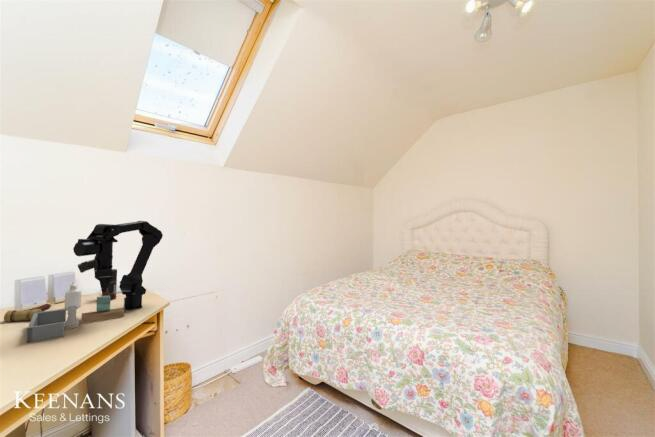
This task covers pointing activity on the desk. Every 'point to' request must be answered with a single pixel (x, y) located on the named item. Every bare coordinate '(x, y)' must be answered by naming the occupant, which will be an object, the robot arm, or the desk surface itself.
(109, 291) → the deodorant
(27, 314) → the gavel
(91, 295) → the desk surface
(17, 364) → the desk surface
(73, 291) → the eye dropper bottle
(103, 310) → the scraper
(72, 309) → the rook chess piece
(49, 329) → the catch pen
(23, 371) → the desk surface
